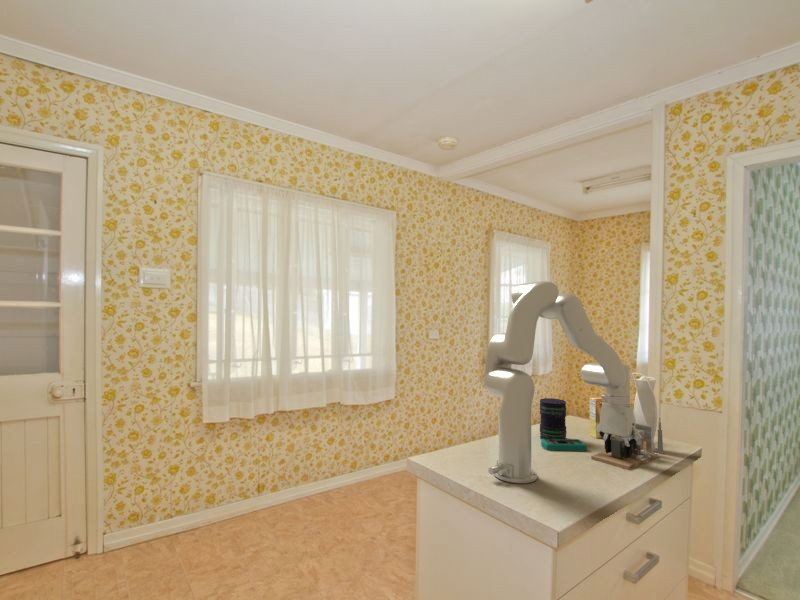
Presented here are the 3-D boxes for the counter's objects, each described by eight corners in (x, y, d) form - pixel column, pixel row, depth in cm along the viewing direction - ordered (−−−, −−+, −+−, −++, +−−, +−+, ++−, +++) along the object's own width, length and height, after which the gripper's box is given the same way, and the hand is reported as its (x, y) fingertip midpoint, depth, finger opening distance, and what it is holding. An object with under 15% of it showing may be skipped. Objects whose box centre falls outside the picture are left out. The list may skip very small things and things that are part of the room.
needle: (645, 454, 138) (645, 442, 138) (640, 453, 139) (640, 441, 140) (647, 454, 139) (646, 441, 139) (641, 452, 140) (641, 440, 140)
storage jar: (534, 436, 165) (534, 398, 166) (555, 434, 168) (554, 397, 169) (550, 444, 156) (550, 404, 157) (572, 441, 159) (571, 402, 160)
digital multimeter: (539, 445, 156) (539, 437, 156) (579, 446, 155) (579, 438, 155) (545, 451, 148) (545, 443, 148) (587, 452, 148) (587, 444, 148)
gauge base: (628, 469, 130) (627, 438, 130) (591, 459, 140) (591, 429, 140) (657, 457, 142) (657, 428, 143) (622, 448, 152) (621, 420, 152)
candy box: (608, 434, 170) (607, 396, 170) (615, 437, 166) (615, 398, 166) (589, 435, 168) (588, 397, 168) (596, 438, 164) (595, 399, 164)
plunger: (629, 460, 134) (629, 443, 134) (611, 455, 139) (611, 439, 139) (647, 453, 141) (647, 437, 142) (629, 448, 146) (629, 433, 146)
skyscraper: (638, 453, 147) (637, 373, 148) (629, 446, 155) (628, 371, 156) (664, 454, 146) (663, 374, 147) (654, 447, 153) (653, 371, 155)
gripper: (586, 397, 144) (587, 450, 143) (638, 406, 130) (639, 464, 129) (598, 395, 148) (598, 446, 147) (649, 403, 134) (650, 460, 134)
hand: (618, 454), depth 138 cm, fingers open, 5 cm apart
